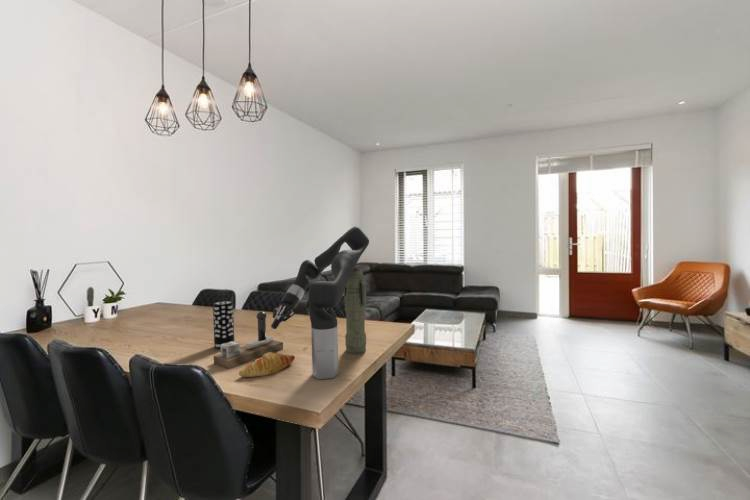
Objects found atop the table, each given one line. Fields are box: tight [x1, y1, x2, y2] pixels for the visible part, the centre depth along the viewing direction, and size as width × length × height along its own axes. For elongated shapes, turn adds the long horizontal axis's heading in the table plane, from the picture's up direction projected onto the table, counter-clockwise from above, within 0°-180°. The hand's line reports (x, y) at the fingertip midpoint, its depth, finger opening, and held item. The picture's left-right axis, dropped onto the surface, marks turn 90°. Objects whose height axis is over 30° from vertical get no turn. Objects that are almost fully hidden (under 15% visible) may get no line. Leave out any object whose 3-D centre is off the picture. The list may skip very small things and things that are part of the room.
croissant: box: [238, 352, 296, 378], centre depth 123 cm, size 21×10×8 cm, turn 133°
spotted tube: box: [212, 300, 235, 350], centre depth 151 cm, size 8×8×20 cm
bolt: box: [245, 310, 275, 349], centre depth 142 cm, size 12×4×14 cm, turn 146°
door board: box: [213, 339, 284, 369], centre depth 138 cm, size 26×10×8 cm, turn 146°
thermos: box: [343, 268, 368, 355], centre depth 142 cm, size 9×12×35 cm
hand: (273, 327), depth 148 cm, fingers closed
